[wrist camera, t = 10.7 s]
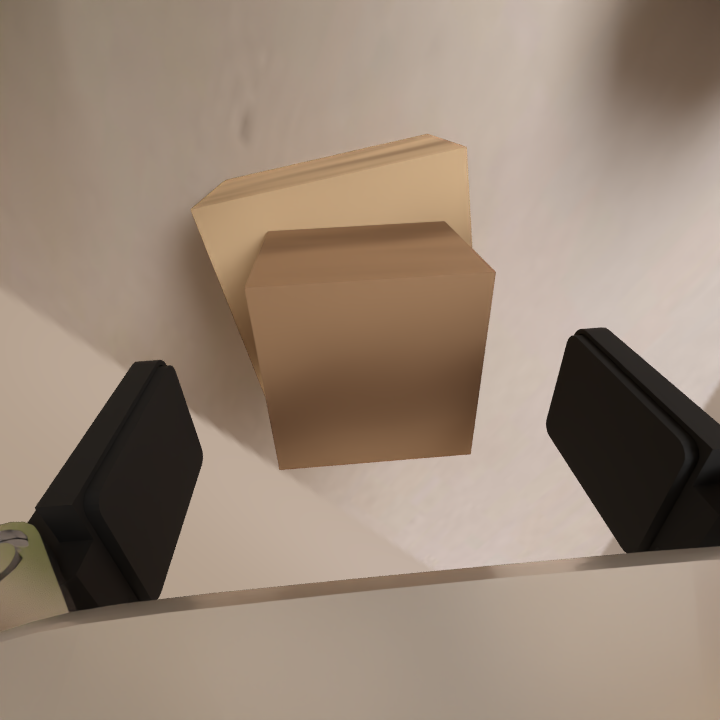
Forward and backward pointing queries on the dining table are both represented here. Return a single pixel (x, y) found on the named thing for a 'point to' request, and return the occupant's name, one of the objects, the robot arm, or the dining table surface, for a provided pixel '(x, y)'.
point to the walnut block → (370, 341)
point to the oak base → (330, 205)
